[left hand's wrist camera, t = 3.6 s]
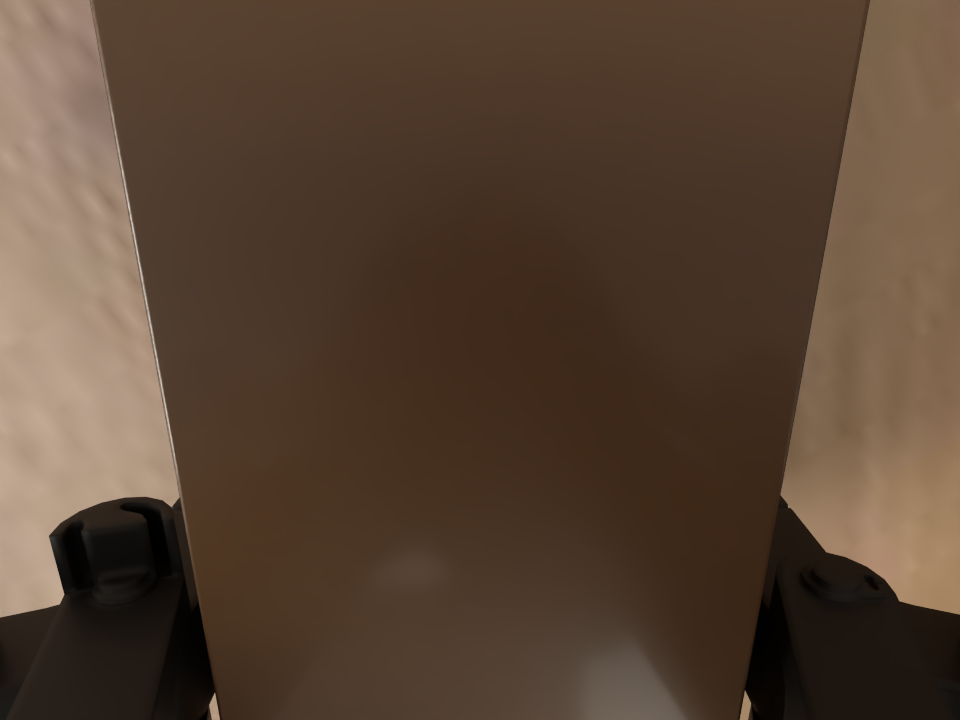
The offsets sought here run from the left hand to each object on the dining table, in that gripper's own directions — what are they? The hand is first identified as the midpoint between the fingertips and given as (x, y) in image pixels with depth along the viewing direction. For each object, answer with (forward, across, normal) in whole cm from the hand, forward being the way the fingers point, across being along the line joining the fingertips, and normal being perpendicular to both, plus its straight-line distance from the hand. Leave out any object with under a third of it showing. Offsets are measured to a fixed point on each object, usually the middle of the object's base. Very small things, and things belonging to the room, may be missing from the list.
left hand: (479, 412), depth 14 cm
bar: (0, 0, -9) cm, 9 cm away
